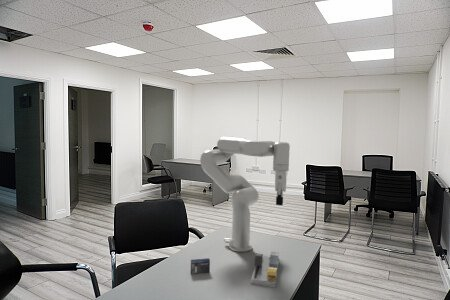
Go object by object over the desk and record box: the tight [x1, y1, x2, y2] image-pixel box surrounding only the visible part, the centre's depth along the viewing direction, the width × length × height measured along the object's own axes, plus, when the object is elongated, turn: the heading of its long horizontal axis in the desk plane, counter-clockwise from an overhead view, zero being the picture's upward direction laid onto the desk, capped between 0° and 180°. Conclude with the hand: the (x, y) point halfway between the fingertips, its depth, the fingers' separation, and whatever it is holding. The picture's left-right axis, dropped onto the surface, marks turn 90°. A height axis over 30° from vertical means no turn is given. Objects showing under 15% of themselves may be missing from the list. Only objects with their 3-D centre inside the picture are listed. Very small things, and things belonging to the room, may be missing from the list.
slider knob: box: [254, 253, 264, 267], centre depth 135 cm, size 3×3×5 cm
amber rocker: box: [267, 267, 278, 276], centre depth 127 cm, size 4×9×1 cm, turn 167°
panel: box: [250, 255, 280, 288], centre depth 133 cm, size 10×24×4 cm, turn 167°
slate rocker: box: [268, 251, 280, 267], centre depth 139 cm, size 4×9×1 cm, turn 167°
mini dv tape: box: [190, 257, 211, 275], centre depth 131 cm, size 8×2×6 cm, turn 105°
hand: (279, 204), depth 146 cm, fingers closed
